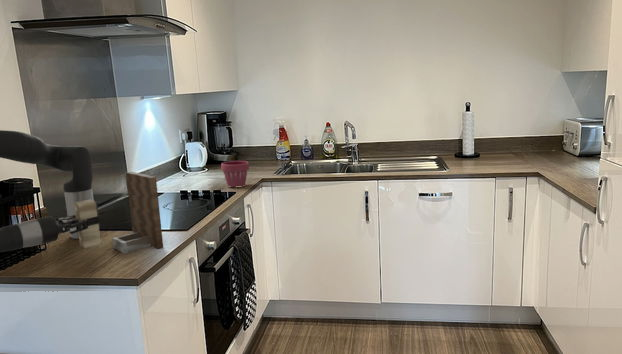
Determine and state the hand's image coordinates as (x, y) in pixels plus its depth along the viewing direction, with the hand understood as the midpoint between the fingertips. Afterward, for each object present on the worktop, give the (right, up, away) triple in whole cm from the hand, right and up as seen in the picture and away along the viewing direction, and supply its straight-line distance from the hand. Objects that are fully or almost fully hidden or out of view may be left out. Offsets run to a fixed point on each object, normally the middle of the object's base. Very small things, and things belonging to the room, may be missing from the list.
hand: (96, 218), depth 151 cm
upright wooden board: (+8, -10, +10) cm, 17 cm away
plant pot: (+29, +8, +101) cm, 106 cm away
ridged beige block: (-2, -8, 0) cm, 8 cm away
